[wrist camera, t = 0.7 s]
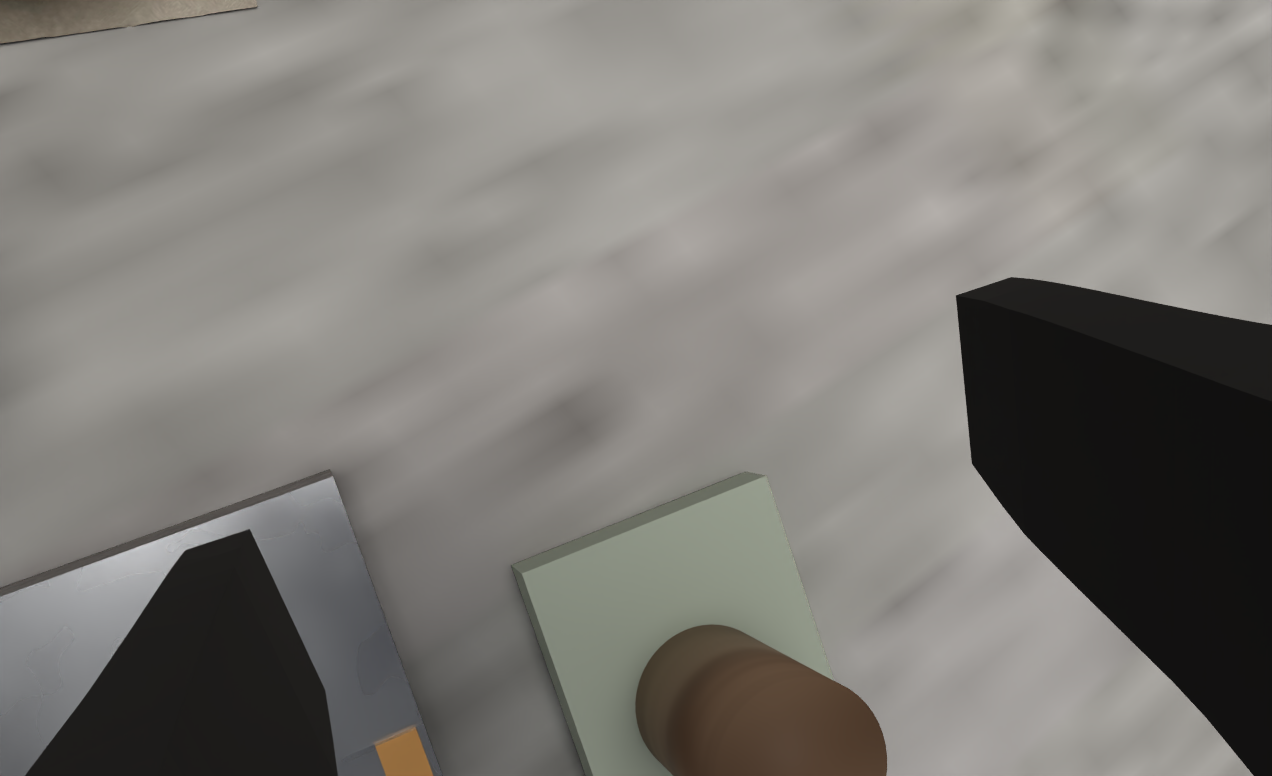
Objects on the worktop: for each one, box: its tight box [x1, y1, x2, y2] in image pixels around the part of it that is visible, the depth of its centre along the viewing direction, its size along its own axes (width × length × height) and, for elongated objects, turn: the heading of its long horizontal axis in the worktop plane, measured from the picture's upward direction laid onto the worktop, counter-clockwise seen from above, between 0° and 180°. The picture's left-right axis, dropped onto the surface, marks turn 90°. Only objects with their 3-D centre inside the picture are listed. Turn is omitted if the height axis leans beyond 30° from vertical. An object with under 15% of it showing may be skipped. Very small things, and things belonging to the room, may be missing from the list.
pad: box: [511, 472, 834, 776], centre depth 32 cm, size 10×7×2 cm
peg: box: [635, 624, 887, 776], centre depth 28 cm, size 4×4×6 cm
